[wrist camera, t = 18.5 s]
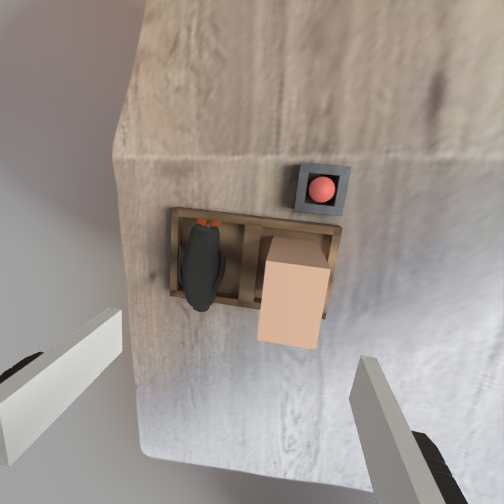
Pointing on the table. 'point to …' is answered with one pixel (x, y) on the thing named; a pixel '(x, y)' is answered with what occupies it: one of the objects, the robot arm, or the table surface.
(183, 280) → the figurine
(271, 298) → the tan block
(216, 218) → the wooden divided tray
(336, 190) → the button collar
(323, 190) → the stop button
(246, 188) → the table surface
